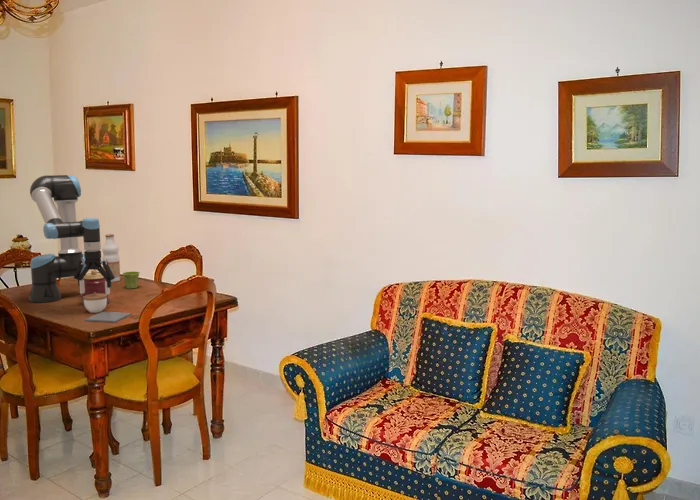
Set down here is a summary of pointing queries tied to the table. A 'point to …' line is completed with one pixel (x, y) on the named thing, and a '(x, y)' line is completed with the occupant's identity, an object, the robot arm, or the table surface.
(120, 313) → the slate board
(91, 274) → the canister
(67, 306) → the table surface
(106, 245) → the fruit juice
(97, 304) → the lidded jar
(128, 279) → the plant pot
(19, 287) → the table surface
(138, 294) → the table surface
